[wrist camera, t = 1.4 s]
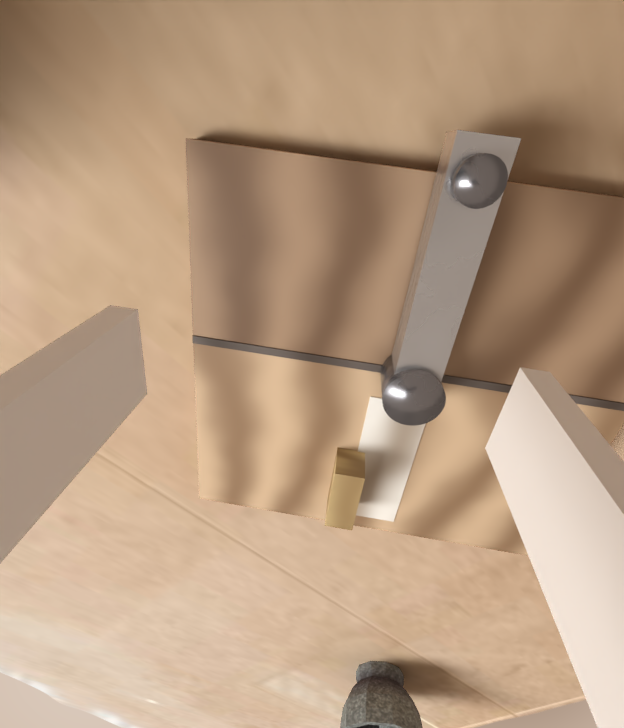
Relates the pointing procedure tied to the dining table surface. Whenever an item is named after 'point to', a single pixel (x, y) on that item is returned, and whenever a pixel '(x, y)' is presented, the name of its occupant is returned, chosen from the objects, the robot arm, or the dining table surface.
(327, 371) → the door board
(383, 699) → the mortar and pestle
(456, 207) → the bar
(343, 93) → the dining table surface
